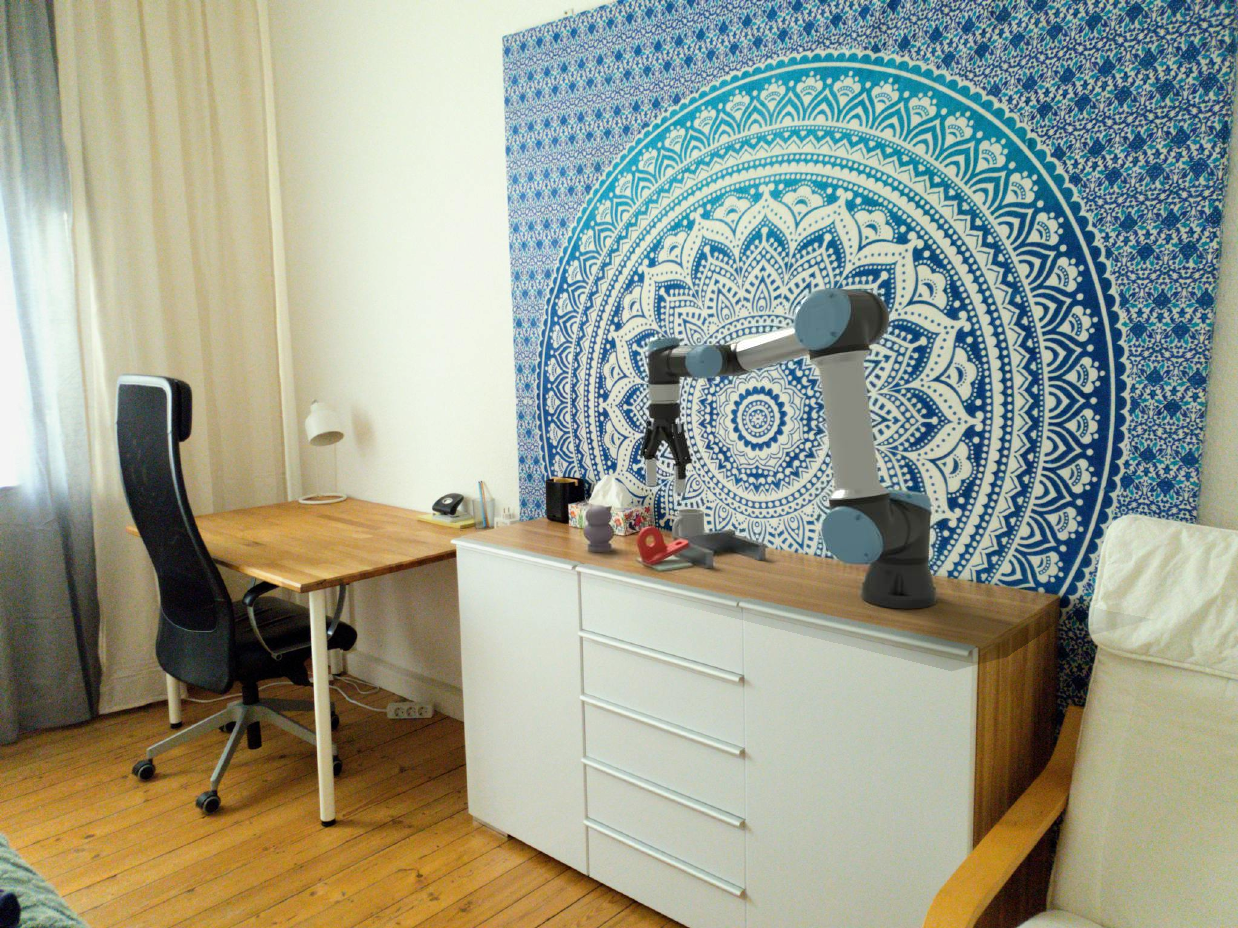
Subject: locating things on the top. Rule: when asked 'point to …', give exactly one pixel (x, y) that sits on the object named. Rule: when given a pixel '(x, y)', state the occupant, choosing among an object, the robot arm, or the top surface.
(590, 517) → the cat figurine
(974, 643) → the top surface
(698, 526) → the cup
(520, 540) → the top surface
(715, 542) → the grey u-shaped frame
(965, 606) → the top surface
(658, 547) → the bracket
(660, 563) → the mat
